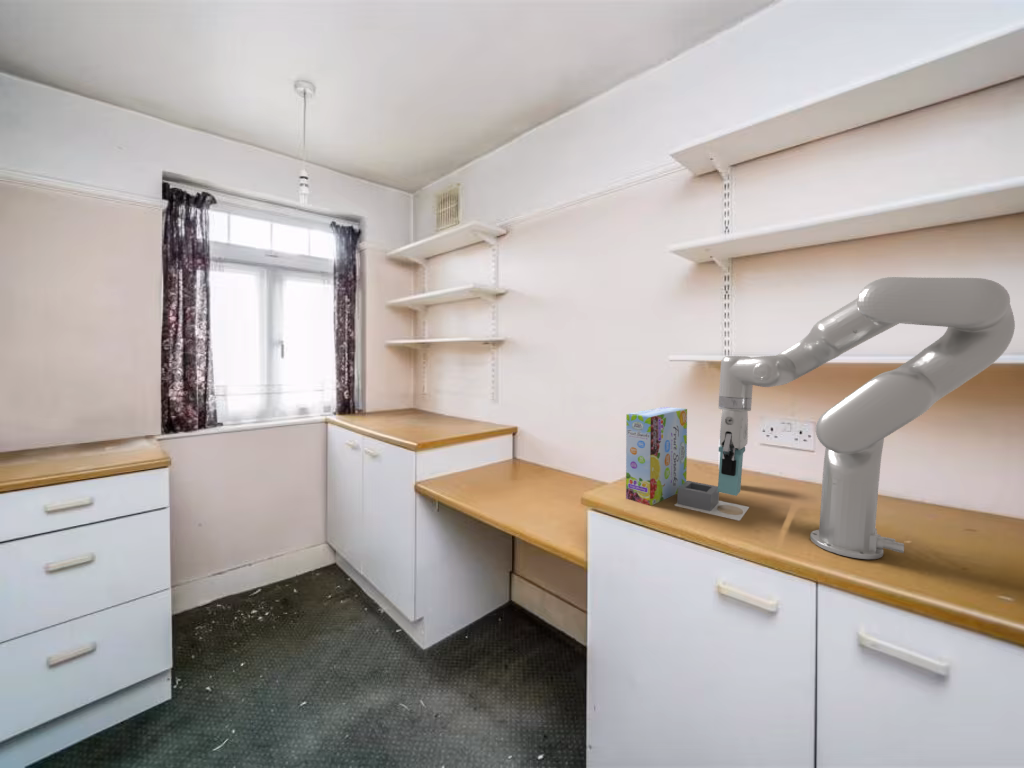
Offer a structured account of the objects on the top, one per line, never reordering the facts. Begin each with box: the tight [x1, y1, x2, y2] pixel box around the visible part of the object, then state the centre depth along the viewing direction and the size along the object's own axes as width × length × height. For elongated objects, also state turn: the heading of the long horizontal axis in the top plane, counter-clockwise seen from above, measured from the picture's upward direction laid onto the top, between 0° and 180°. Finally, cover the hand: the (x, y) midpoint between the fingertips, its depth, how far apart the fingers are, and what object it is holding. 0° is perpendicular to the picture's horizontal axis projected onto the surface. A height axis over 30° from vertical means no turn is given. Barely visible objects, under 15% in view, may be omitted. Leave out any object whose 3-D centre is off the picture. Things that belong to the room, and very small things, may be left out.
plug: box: [717, 446, 746, 496], centre depth 110 cm, size 5×5×12 cm
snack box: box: [625, 406, 688, 506], centre depth 123 cm, size 22×9×26 cm, turn 132°
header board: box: [674, 480, 750, 522], centre depth 113 cm, size 16×12×6 cm
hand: (730, 471), depth 110 cm, fingers closed on plug, 4 cm apart
